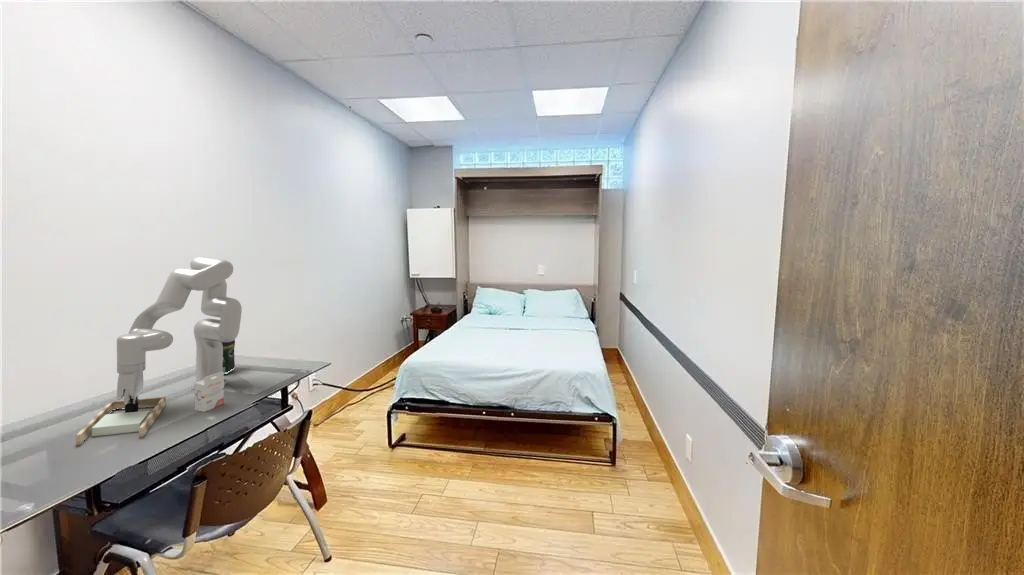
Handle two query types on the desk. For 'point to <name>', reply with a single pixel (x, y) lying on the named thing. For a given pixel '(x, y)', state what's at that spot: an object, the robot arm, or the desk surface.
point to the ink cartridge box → (209, 392)
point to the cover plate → (119, 423)
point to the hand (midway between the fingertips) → (131, 412)
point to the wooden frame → (142, 403)
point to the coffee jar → (228, 356)
